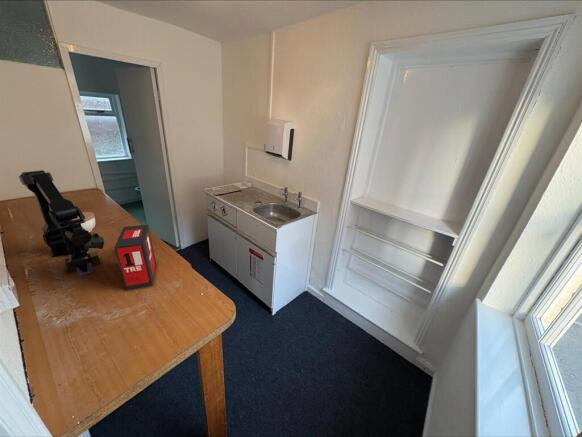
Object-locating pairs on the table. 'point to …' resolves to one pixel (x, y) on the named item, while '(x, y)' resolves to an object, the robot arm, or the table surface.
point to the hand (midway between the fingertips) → (85, 268)
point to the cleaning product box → (136, 256)
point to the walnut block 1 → (69, 266)
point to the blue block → (89, 269)
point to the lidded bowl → (88, 221)
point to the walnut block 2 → (94, 258)
